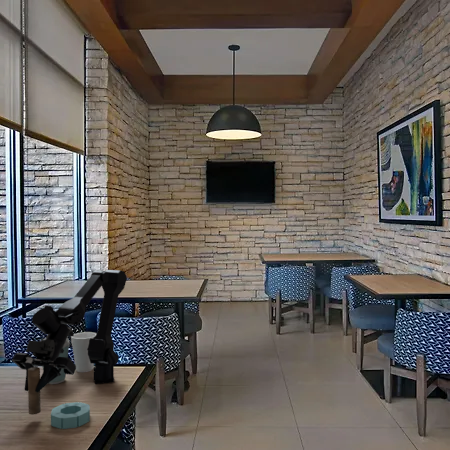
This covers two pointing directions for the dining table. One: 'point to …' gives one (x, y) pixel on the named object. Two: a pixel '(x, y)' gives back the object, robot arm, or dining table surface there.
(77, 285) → the dining table surface
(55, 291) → the dining table surface
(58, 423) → the bead
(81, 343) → the foam cup
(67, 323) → the robot arm
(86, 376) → the dining table surface
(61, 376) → the disposable coffee cup
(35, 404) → the brown post
